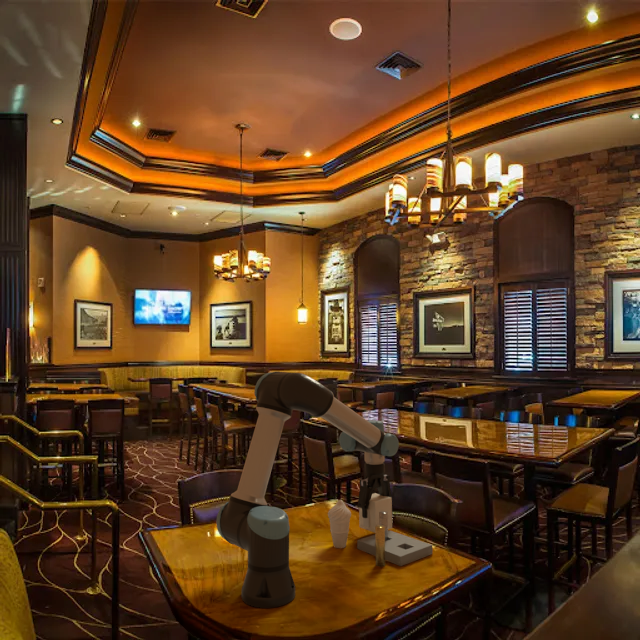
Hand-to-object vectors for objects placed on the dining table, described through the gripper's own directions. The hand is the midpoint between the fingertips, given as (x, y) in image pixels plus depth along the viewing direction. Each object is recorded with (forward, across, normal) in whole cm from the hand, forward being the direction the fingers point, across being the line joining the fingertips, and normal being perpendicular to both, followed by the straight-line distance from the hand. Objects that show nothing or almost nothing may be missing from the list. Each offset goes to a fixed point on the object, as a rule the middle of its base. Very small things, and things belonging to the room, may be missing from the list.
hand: (375, 523), depth 200 cm
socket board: (+4, -6, -15) cm, 17 cm away
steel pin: (+4, -6, -10) cm, 13 cm away
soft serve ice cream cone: (+5, -17, +1) cm, 18 cm away
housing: (+1, 0, 0) cm, 1 cm away
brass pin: (+4, -18, -20) cm, 27 cm away
